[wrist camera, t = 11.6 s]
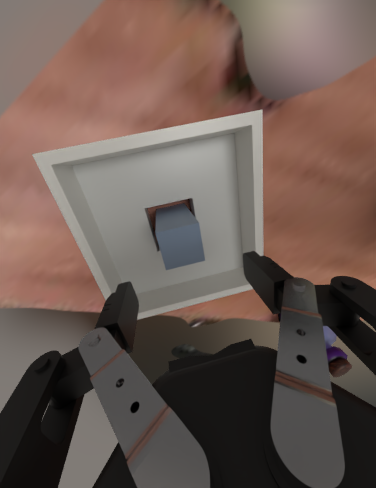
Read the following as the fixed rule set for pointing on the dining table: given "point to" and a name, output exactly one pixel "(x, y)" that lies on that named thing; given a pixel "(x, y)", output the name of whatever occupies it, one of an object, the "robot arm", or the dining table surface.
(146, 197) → the walled box
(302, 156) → the dining table surface
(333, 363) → the potion bottle
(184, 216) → the peg
